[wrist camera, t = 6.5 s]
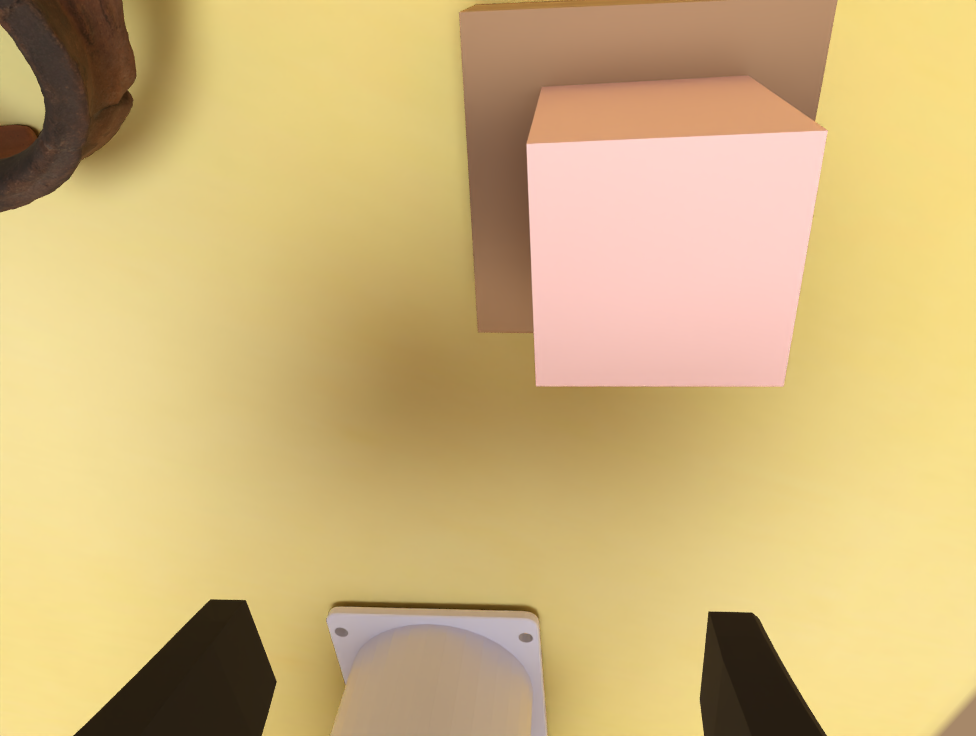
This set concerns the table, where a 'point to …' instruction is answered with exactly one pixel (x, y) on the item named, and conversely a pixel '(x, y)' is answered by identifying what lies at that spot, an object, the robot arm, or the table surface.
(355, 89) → the table surface
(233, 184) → the table surface
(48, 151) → the brown curved piece
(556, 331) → the pink block
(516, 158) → the brown block
